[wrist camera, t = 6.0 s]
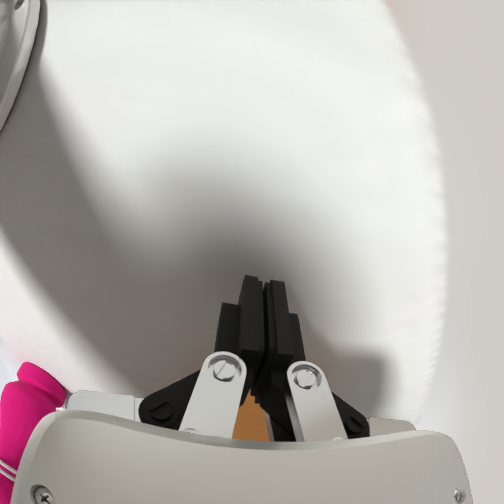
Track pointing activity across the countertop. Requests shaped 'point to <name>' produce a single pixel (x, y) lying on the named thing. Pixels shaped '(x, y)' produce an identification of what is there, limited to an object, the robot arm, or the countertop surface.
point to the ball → (250, 422)
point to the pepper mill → (23, 418)
